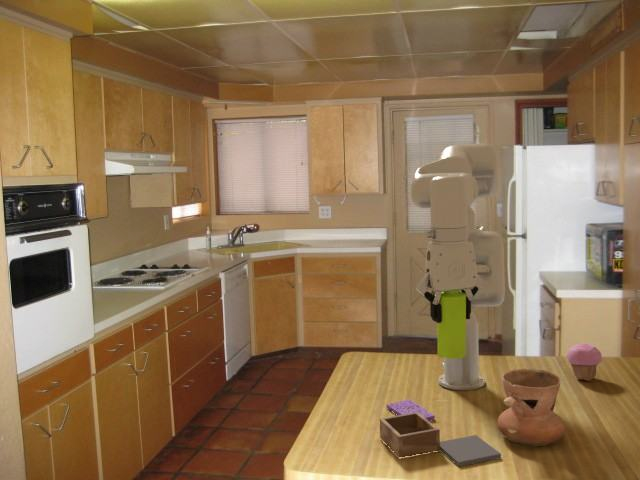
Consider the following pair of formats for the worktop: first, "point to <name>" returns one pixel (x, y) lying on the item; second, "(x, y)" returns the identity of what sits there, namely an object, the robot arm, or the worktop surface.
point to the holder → (409, 434)
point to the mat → (468, 450)
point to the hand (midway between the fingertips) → (450, 318)
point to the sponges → (409, 409)
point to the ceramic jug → (531, 407)
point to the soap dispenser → (452, 325)
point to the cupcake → (584, 360)
